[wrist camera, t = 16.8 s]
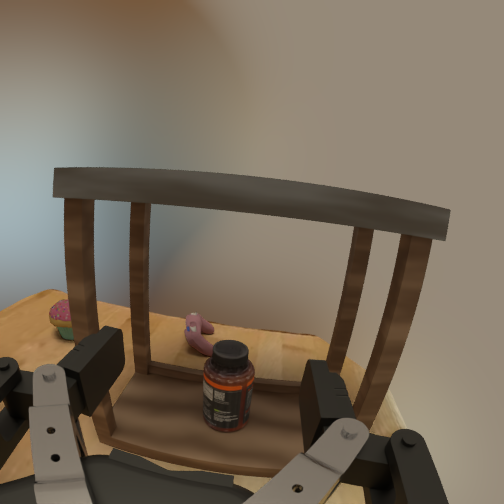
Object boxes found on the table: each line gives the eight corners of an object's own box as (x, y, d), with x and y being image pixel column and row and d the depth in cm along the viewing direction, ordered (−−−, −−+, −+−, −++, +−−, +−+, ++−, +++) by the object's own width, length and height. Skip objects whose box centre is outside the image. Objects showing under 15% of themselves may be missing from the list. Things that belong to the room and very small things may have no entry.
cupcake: (65, 321, 55) (59, 268, 52) (98, 328, 55) (93, 273, 52) (45, 339, 46) (35, 281, 44) (80, 349, 47) (71, 288, 44)
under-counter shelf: (352, 479, 27) (450, 209, 20) (91, 441, 28) (54, 167, 20) (332, 398, 43) (379, 196, 36) (136, 372, 44) (134, 170, 37)
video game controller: (195, 337, 62) (181, 310, 60) (215, 330, 62) (201, 302, 60) (195, 364, 52) (178, 334, 50) (218, 356, 52) (202, 325, 50)
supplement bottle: (242, 402, 38) (251, 334, 36) (253, 432, 33) (265, 361, 30) (199, 404, 37) (201, 335, 34) (205, 435, 31) (208, 363, 29)
